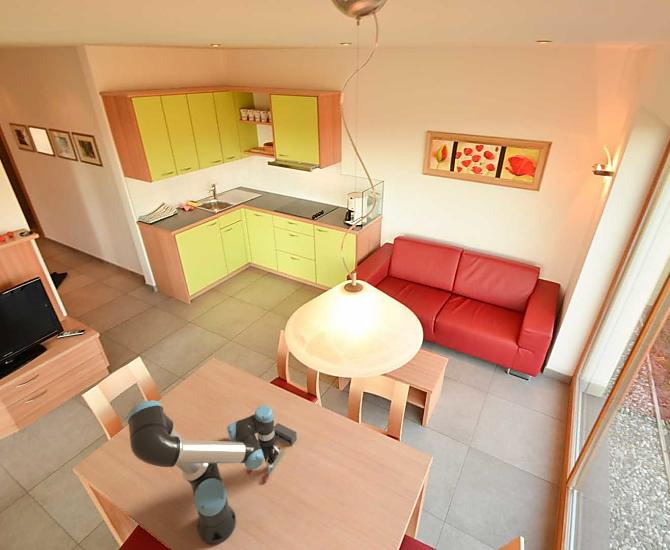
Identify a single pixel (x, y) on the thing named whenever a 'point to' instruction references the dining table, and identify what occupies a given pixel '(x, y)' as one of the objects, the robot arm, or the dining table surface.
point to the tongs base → (277, 437)
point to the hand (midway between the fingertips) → (269, 467)
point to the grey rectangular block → (285, 432)
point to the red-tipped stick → (273, 466)
